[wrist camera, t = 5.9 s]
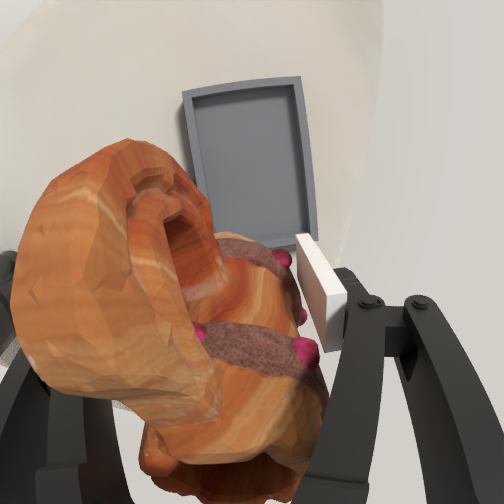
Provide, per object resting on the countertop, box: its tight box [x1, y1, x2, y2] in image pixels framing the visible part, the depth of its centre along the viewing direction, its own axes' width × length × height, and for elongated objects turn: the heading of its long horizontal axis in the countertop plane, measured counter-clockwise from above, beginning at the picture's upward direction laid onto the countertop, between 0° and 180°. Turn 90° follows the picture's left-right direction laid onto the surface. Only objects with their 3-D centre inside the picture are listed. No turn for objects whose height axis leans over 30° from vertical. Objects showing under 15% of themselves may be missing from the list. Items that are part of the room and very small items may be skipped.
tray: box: [182, 76, 318, 248], centre depth 34 cm, size 14×21×3 cm, turn 8°
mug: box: [10, 138, 329, 504], centre depth 12 cm, size 15×8×15 cm, turn 19°
